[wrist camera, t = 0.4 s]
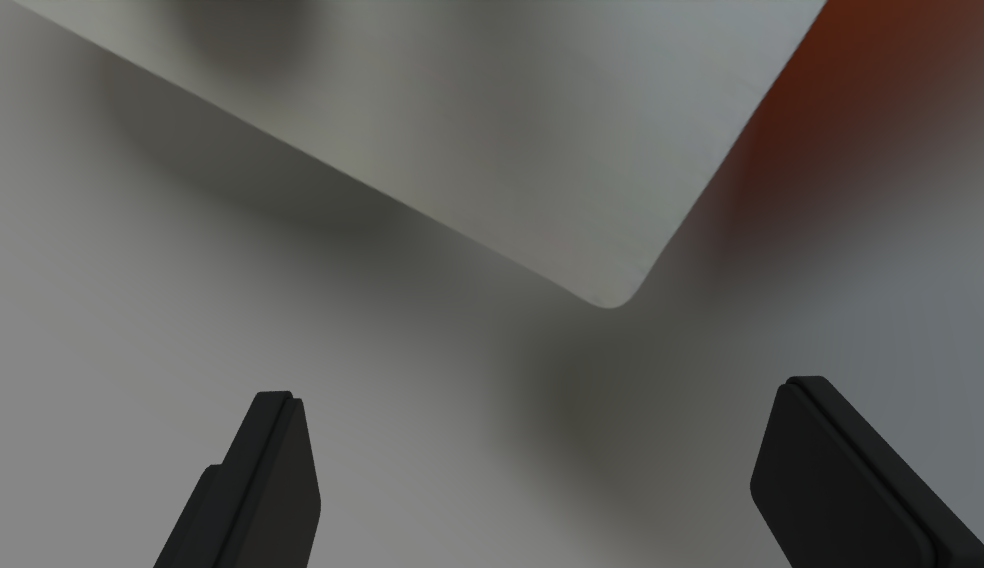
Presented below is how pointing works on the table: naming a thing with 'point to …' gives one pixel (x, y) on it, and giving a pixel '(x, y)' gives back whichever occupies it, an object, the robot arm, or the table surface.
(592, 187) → the table surface
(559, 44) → the table surface
